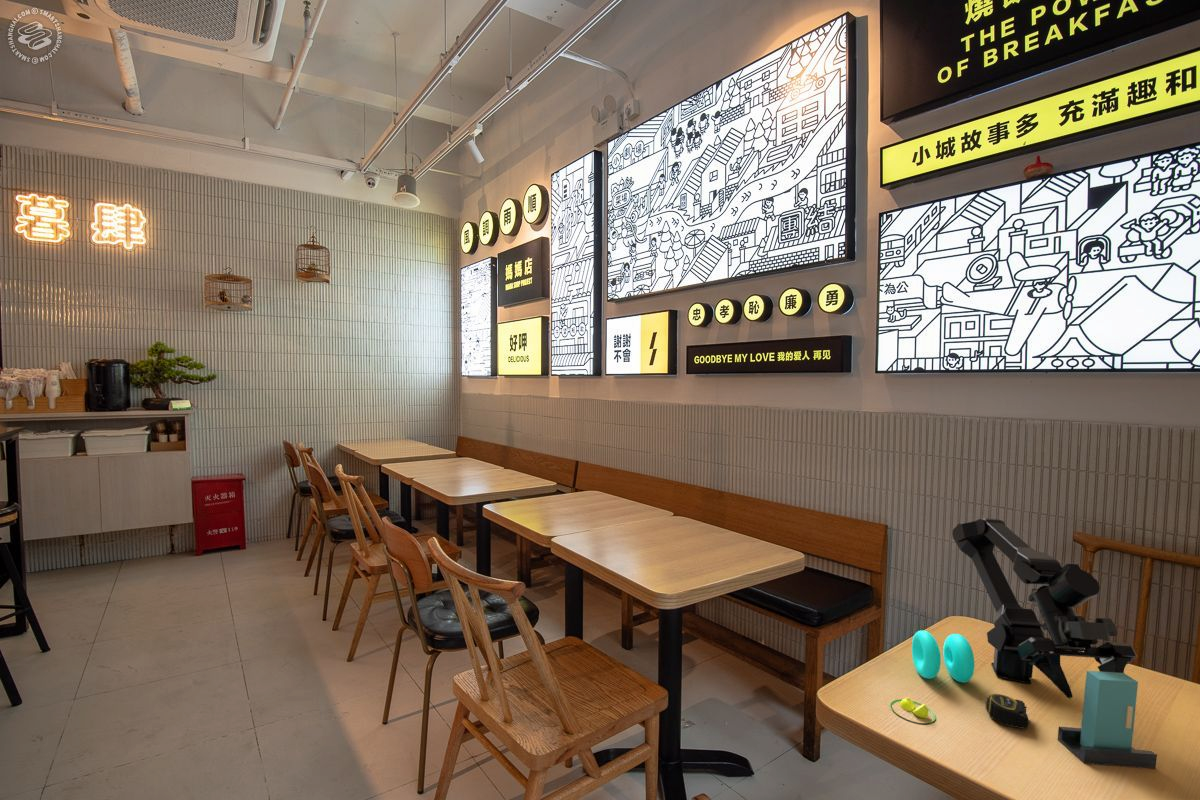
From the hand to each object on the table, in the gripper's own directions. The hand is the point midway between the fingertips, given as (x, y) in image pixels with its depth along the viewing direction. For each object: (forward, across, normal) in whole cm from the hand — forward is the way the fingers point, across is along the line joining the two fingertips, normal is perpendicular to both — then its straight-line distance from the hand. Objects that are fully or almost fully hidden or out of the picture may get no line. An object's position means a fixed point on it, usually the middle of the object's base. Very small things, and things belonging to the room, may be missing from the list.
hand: (1096, 699), depth 108 cm
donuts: (-8, -17, +21) cm, 28 cm away
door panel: (+8, 0, +4) cm, 8 cm away
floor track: (+8, 0, +4) cm, 9 cm away
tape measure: (+2, -11, +10) cm, 15 cm away
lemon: (+2, -30, +11) cm, 32 cm away
